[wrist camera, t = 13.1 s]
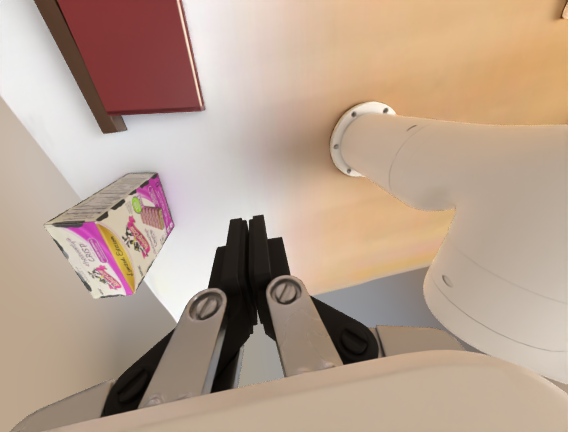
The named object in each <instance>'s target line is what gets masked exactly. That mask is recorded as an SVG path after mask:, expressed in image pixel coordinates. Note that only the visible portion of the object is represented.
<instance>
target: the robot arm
mask: <svg viewBox="0 0 568 432" xmlns="http://www.w3.org/2000/svg"><path fill="white" fill-rule="evenodd" d="M383 110H384V111H383ZM351 113H353V114H352V116H351ZM334 145H335V147H334ZM330 153H331V157H332V160H333V162H334V164H335V166H336V167H337V168H338V169H339V170H340V171H342V172H343V173H345V174H346V175H349V176H353V177H362V176H364V177H366V178H367V179H369V180H370V181H372V182H373V183H375V184H376V185H378V186H379V187H381V188H382V189H384V190H385V191H387V192H388V193H389V194H391V195H392V196H394V197H395V198H397V199H398V200H400V201H402V202H403V203H405V204H406V205H408V206H410V207H412V208H415V209H418V210H422V211H444V210H451V209H455V215H454V218H453V220H452V222H451V225H450V227H449V229H448V233H447V235H446V236H445V238H444V240H443V242H442V244H441V246H440V248H439V250H438V252H437V254H436V256H435V258H434V260H433V262H432V263H431V266H430V268H429V270H428V272H427V274H426V277H425V281H424V288H423V291H424V297H425V301H426V303H427V305H428V307H429V308H430V311H431V312H432V313H433V315H434V316H435V317H436V318H437V319H438V320H439V321H440V322H441V324H443V325H444V326H445V327H446V328H447V329H448V330H449V331H451V332H452V333H453V334H455V335H456V336H457V337H459V338H460V339H462V340H463V341H465V342H466V343H468V344H470V345H471V346H473V347H475V348H477V349H478V350H480V351H482V352H484V353H486V354H489V355H490V356H488V355H484V354H479V353H473V352H467V351H465V349H464V348H463V346H462V345H461V344H460V343H459V341H458V340H456V339H455V338H454V337H453V336H451V335H450V334H449V333H446V332H445V331H442V330H440V329H436V328H428V327H405V326H383V325H376V328H368V327H366V326H365V325H363V324H362V323H360V322H358V321H357V320H355V319H353V318H351V317H349V316H347V315H345V314H344V313H342V312H339V311H338V310H336V309H334V308H332V307H331V306H329V305H327V304H325V303H323V302H321V301H319V300H317V299H315V298H314V297H312V296H310V295H309V294H308V291H307V289H306V287H305V285H304V284H303V282H302V281H301V280H300V279H298V278H297V277H294V276H291V275H290V270H289V266H288V261H287V257H286V253H285V248H284V244H283V240H282V237H278V238H272V239H267V233H266V227H265V221H264V215H258V216H253V219H250V220H249V230H248V226H247V221H246V220H243V221H242V218H238V219H231V220H230V225H229V231H228V237H227V243H226V246H222V247H218V248H217V250H216V254H215V258H214V263H213V267H212V272H211V276H210V281H209V285H208V289H205V290H203V291H200V292H199V293H197V294H196V295H194V296H193V297H192V298H191V299H190V300H189V302H188V304H187V305H186V307H185V309H184V311H183V313H182V315H181V318H180V320H179V322H178V324H177V326H176V328H174V329H173V330H172V331H171V332H170V333H169V334H168V335H167V336H165V337H164V338H163V339H162V340H161V341H160V342H158V343H157V344H156V345H155V346H154V347H153V348H151V349H150V350H149V351H148V352H147V353H146V354H145V355H144V356H142V357H141V358H140V359H139V360H138V361H136V362H135V363H134V364H133V365H132V366H131V367H130V368H128V369H127V370H126V371H125V372H124V373H123V374H122V375H121V376H120V377H119V378H118V380H115V381H114V380H113V379H109V380H107V381H105V382H103V383H100V384H98V385H95V386H93V387H91V388H88V389H86V390H84V391H81V392H79V393H76V394H74V395H72V396H69V397H67V398H65V399H62V400H60V401H58V402H55V403H53V404H51V405H48V406H46V407H43V408H41V409H39V410H37V411H36V412H34V413H32V414H30V415H28V416H27V417H26V418H25V419H23V420H22V421H21V422H20V423H18V424H17V425H16V426H15V427H14V428H13V429H12V430H11V431H10V432H568V394H567V393H565V392H564V391H563V390H561V389H560V388H558V387H557V386H556V385H554V384H552V383H551V382H550V381H548V380H547V379H545V378H543V377H542V376H544V377H547V378H550V379H553V380H556V381H558V382H561V383H564V384H567V385H568V124H554V125H493V124H477V123H465V122H456V121H446V120H437V119H428V118H419V117H410V116H401V115H396V113H395V112H394V110H393V109H392V108H391V107H389V106H388V105H386V104H384V103H380V102H364V103H361V104H358V105H356V106H354V107H353V108H351V109H350V110H348V111H347V112H346V113H345V114H344V115H343V116H342V117H341V118H340V120H339V121H338V123H337V124H336V126H335V128H334V130H333V133H332V136H331V140H330ZM257 311H258V315H259V318H260V322H261V324H263V326H264V330H265V333H266V335H268V336H269V337H270V338H272V339H273V340H274V341H276V346H277V350H278V354H279V357H280V362H281V366H282V369H283V373H284V377H285V378H281V379H277V380H272V381H267V382H263V383H258V384H253V385H248V386H244V387H239V388H238V383H239V377H240V371H241V365H242V359H243V352H244V343H245V342H246V341H247V339H248V338H249V337H250V334H253V325H257ZM538 374H539V375H538ZM540 375H541V376H540Z"/></svg>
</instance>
